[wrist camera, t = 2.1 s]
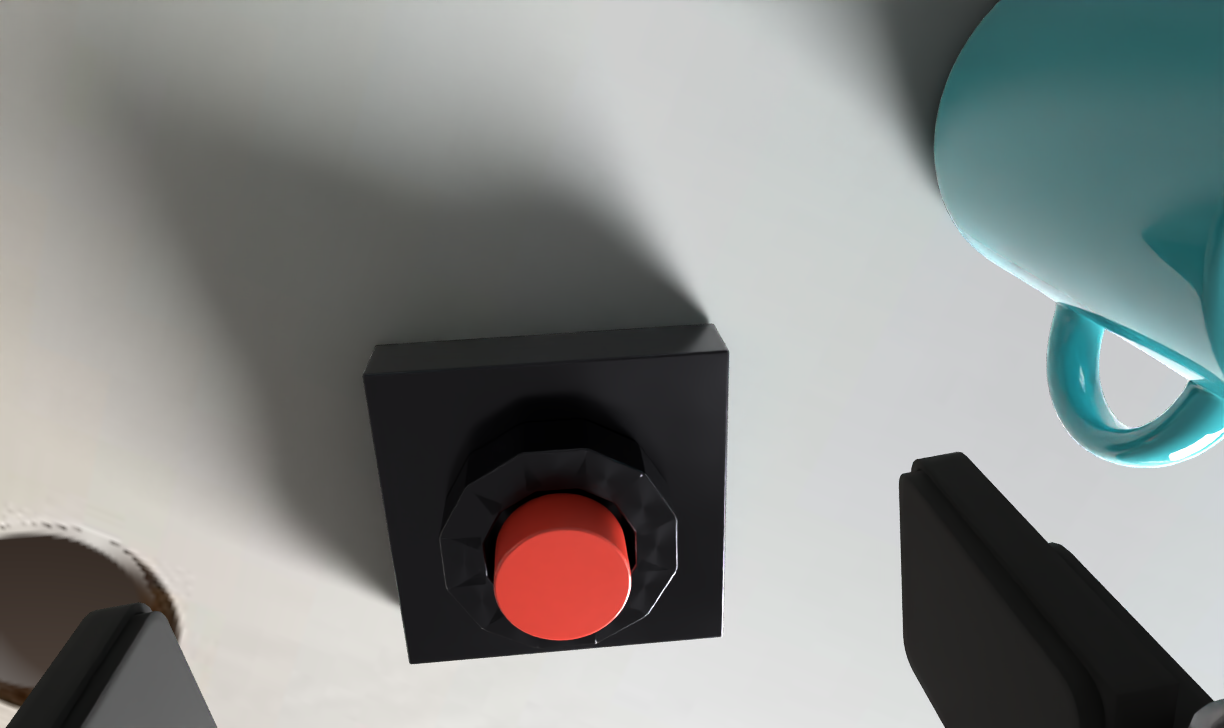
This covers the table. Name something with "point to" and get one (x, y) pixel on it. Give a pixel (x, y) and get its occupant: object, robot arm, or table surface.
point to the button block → (552, 474)
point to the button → (561, 567)
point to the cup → (1101, 196)
